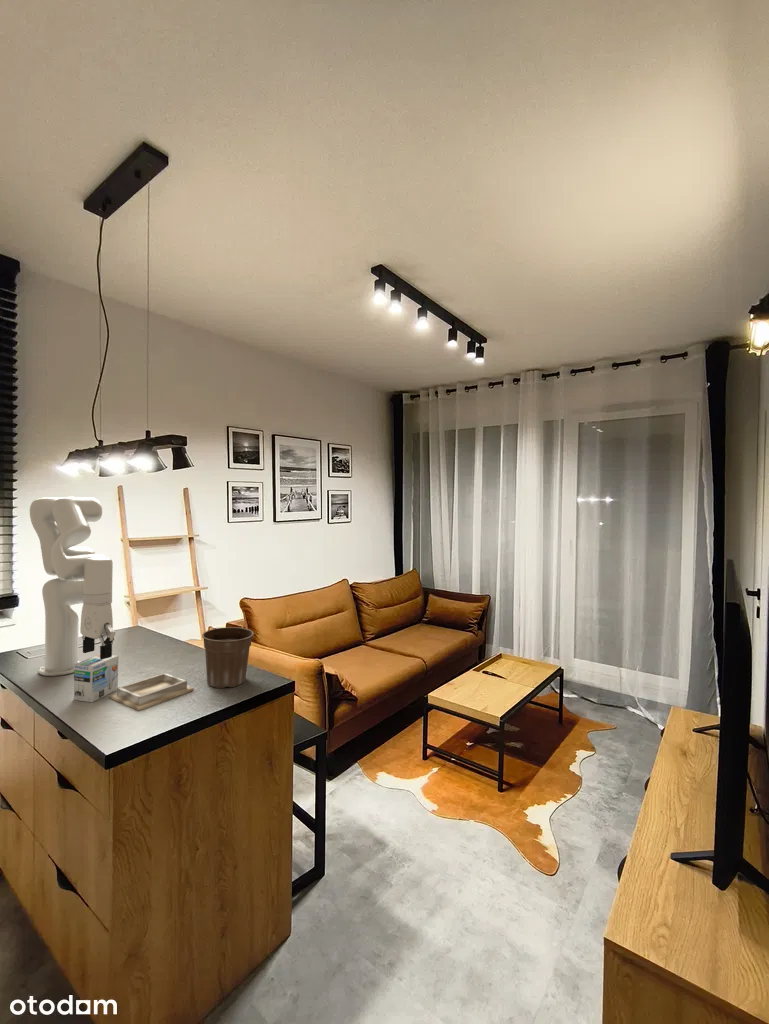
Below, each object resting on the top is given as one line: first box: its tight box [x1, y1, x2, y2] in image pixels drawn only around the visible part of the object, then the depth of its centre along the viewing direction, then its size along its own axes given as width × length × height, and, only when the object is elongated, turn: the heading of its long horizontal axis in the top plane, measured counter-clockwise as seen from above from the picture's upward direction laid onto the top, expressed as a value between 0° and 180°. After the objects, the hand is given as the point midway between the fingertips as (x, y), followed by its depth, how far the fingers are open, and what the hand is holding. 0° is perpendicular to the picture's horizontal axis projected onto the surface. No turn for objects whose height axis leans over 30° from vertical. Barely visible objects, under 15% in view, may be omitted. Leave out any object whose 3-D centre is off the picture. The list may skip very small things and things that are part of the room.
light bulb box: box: [73, 653, 119, 703], centre depth 147 cm, size 11×7×11 cm, turn 168°
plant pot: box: [201, 626, 254, 689], centre depth 161 cm, size 16×16×16 cm
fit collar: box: [109, 672, 195, 711], centre depth 149 cm, size 15×18×3 cm
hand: (97, 654), depth 147 cm, fingers open, 9 cm apart
